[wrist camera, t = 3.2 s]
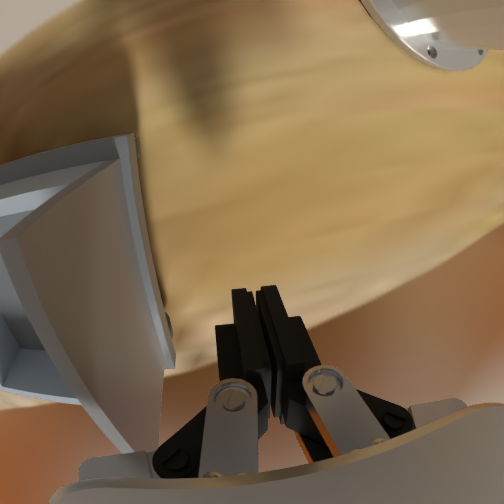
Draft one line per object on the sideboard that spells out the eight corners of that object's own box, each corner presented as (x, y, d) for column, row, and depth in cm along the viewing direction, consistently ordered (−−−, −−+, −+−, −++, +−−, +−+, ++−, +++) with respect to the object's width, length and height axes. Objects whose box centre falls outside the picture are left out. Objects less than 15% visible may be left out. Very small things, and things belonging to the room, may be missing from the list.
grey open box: (148, 126, 14) (19, 187, 4) (178, 321, 20) (171, 483, 10) (-12, 166, 13) (-139, 249, 2) (40, 324, 19) (-12, 444, 9)
